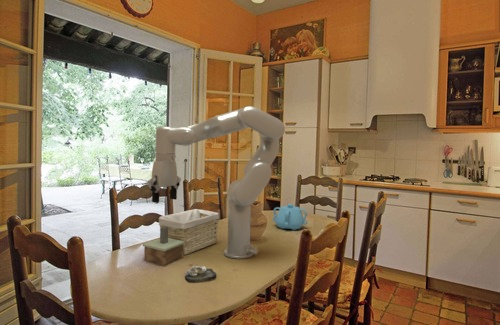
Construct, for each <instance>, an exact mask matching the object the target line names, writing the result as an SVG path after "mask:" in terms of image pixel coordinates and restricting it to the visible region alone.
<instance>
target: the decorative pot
mask: <svg viewBox="0 0 500 325" xmlns="http://www.w3.org/2000/svg"><path fill="white" fill-rule="evenodd" d="M276 210H278V212H276ZM302 212H304V215H303V213H302ZM273 215H274V216H273V217H272V222H274V223H275V224H276V226H277V227H278V228H280V229H281V230H286V229H290V230H292V231H297V230H298V229H301V228H302V226H303V225H304V226H305V225H307V224H308V220H306V218H307V215H308V212H307V210H305V209H303V208H300V207H299V206H294V204H293V203H287V205H283V206H281V207H279V206H278V207H277V206H276V207H274V209H273Z"/></svg>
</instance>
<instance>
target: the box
mask: <svg viewBox="0 0 500 325" xmlns="http://www.w3.org/2000/svg"><path fill="white" fill-rule="evenodd" d="M143 247H144V254H143V256H144V258H143V259H144V262H147V263H151V264H155V265H158V266H162V267H165V266H168V265H170V264H172V263H174V262H177V261H180V260H182V259H183V258H184V255H183V244H182V245H179V246H177V247H174V248H171V249H169V250H166V251H162V250H157V249H153V248H149V247H145V246H143Z"/></svg>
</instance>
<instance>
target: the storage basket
mask: <svg viewBox="0 0 500 325" xmlns="http://www.w3.org/2000/svg"><path fill="white" fill-rule="evenodd" d="M219 214H220V213H218V212H217V211H216V212H215V211H211V210H206V209H200V208H199V209H198V208H194V209H189V210H185V211H181V212H177V213H176V212H175V213H172V214H168V215H167V214H166V215H161V216H159V218H158V225H159V229H160V228H162V227H167V228H168V238H171V239H176V240H180V241H185V243H184V244H183V256H186V255H190V254H192V253H194V252H197V251H198V250H201V249H204V248H207V247H208V246H209V247H210V246H211V245H214V244H217V242H218V229H219V228H218V227H219V220H220V215H219ZM201 216H202V217H201Z"/></svg>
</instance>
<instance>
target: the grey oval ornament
mask: <svg viewBox="0 0 500 325" xmlns="http://www.w3.org/2000/svg"><path fill="white" fill-rule="evenodd" d="M184 274H185V276H184V279H185V281H186V282H187V283H189V284H195V283H196V284H197V283H206V282H210V281H213V280H215V279H216V278H217V272H215V270H213V269H212V268H207V267H206V266H205V265H204V266H198V265H197V266H195V265H193V266H192V267H191V268H189V269H187V270H186V271H185V272H184Z"/></svg>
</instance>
